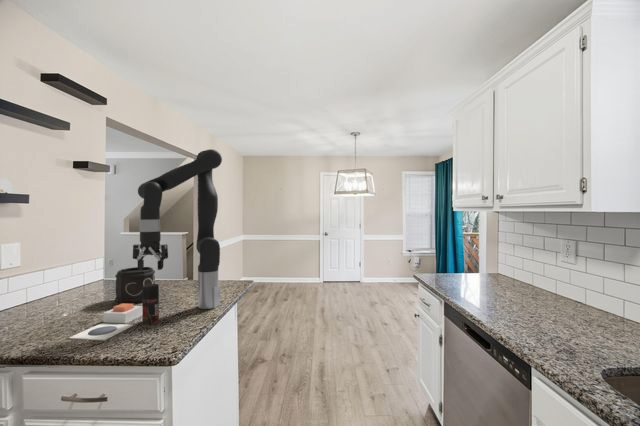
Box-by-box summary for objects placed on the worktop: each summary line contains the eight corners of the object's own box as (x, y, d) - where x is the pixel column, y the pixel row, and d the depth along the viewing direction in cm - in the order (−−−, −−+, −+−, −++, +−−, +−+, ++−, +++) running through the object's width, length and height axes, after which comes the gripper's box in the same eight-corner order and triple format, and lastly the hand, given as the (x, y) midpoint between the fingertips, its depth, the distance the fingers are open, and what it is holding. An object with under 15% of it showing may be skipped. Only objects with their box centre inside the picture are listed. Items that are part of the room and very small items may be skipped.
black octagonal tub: (163, 297, 161) (163, 268, 161) (127, 306, 146) (126, 274, 146) (145, 293, 171) (145, 265, 171) (109, 301, 156) (109, 270, 156)
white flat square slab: (133, 325, 122) (133, 324, 122) (104, 340, 108) (104, 339, 108) (101, 324, 123) (101, 323, 123) (69, 338, 109) (69, 337, 109)
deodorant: (146, 319, 129) (146, 284, 129) (161, 318, 129) (161, 283, 129) (139, 324, 123) (139, 287, 123) (155, 324, 123) (154, 287, 123)
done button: (133, 310, 132) (133, 303, 132) (124, 314, 127) (124, 307, 127) (122, 310, 133) (122, 303, 133) (113, 314, 128) (113, 307, 127)
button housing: (142, 315, 134) (142, 306, 134) (125, 323, 124) (125, 313, 124) (121, 314, 135) (121, 305, 135) (103, 322, 125) (103, 312, 125)
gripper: (171, 229, 129) (171, 268, 129) (140, 229, 131) (141, 267, 131) (160, 231, 121) (160, 271, 121) (127, 230, 123) (128, 270, 123)
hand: (150, 269), depth 126 cm, fingers open, 8 cm apart
